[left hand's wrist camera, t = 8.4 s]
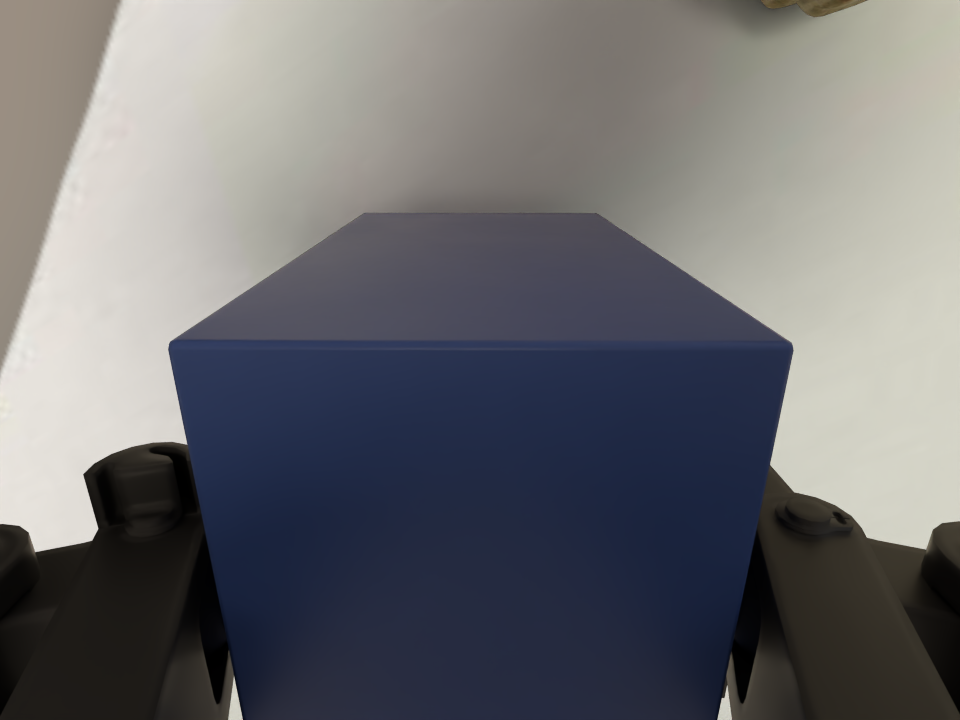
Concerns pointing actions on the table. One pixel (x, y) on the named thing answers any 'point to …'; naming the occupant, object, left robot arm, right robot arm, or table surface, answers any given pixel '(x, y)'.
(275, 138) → the table surface
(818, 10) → the sculpture
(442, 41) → the table surface
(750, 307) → the table surface
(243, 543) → the bar
